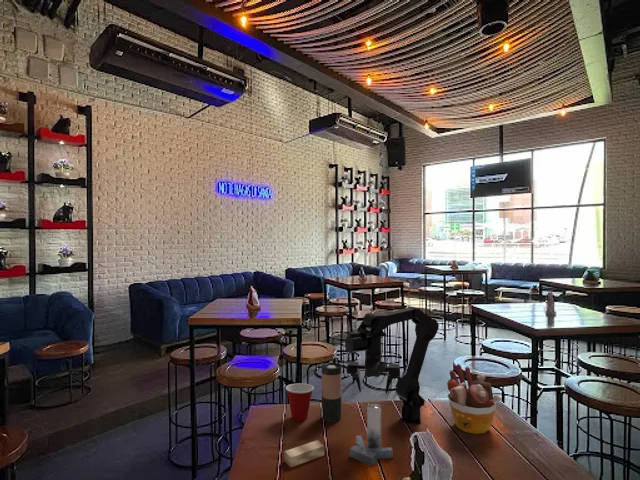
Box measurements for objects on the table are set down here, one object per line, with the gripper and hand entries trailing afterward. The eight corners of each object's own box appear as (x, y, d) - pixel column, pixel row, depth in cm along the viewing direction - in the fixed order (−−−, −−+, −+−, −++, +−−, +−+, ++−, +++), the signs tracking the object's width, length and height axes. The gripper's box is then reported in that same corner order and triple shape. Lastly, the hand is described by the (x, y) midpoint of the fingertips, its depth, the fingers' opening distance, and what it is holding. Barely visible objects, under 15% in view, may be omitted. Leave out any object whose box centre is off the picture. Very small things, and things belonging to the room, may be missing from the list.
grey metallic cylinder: (379, 445, 123) (378, 403, 123) (383, 453, 119) (383, 409, 119) (365, 446, 122) (365, 404, 123) (369, 454, 118) (369, 410, 118)
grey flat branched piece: (358, 441, 125) (358, 434, 125) (394, 456, 117) (394, 448, 117) (342, 453, 119) (342, 445, 119) (379, 469, 110) (379, 461, 110)
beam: (317, 449, 121) (317, 440, 121) (324, 455, 118) (324, 445, 118) (284, 461, 115) (284, 451, 115) (290, 467, 111) (290, 457, 111)
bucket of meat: (509, 439, 127) (508, 380, 127) (463, 442, 125) (462, 382, 125) (478, 412, 147) (477, 362, 147) (437, 415, 145) (437, 363, 145)
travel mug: (340, 423, 138) (339, 369, 138) (319, 421, 140) (319, 368, 140) (342, 414, 146) (342, 363, 146) (323, 412, 147) (323, 361, 147)
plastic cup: (317, 413, 146) (317, 383, 146) (308, 426, 136) (308, 393, 136) (292, 409, 150) (292, 379, 150) (281, 422, 140) (280, 389, 140)
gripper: (345, 354, 128) (345, 400, 128) (400, 357, 125) (400, 404, 125) (348, 345, 139) (348, 387, 139) (399, 348, 136) (399, 391, 136)
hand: (373, 392), depth 134 cm, fingers open, 9 cm apart
